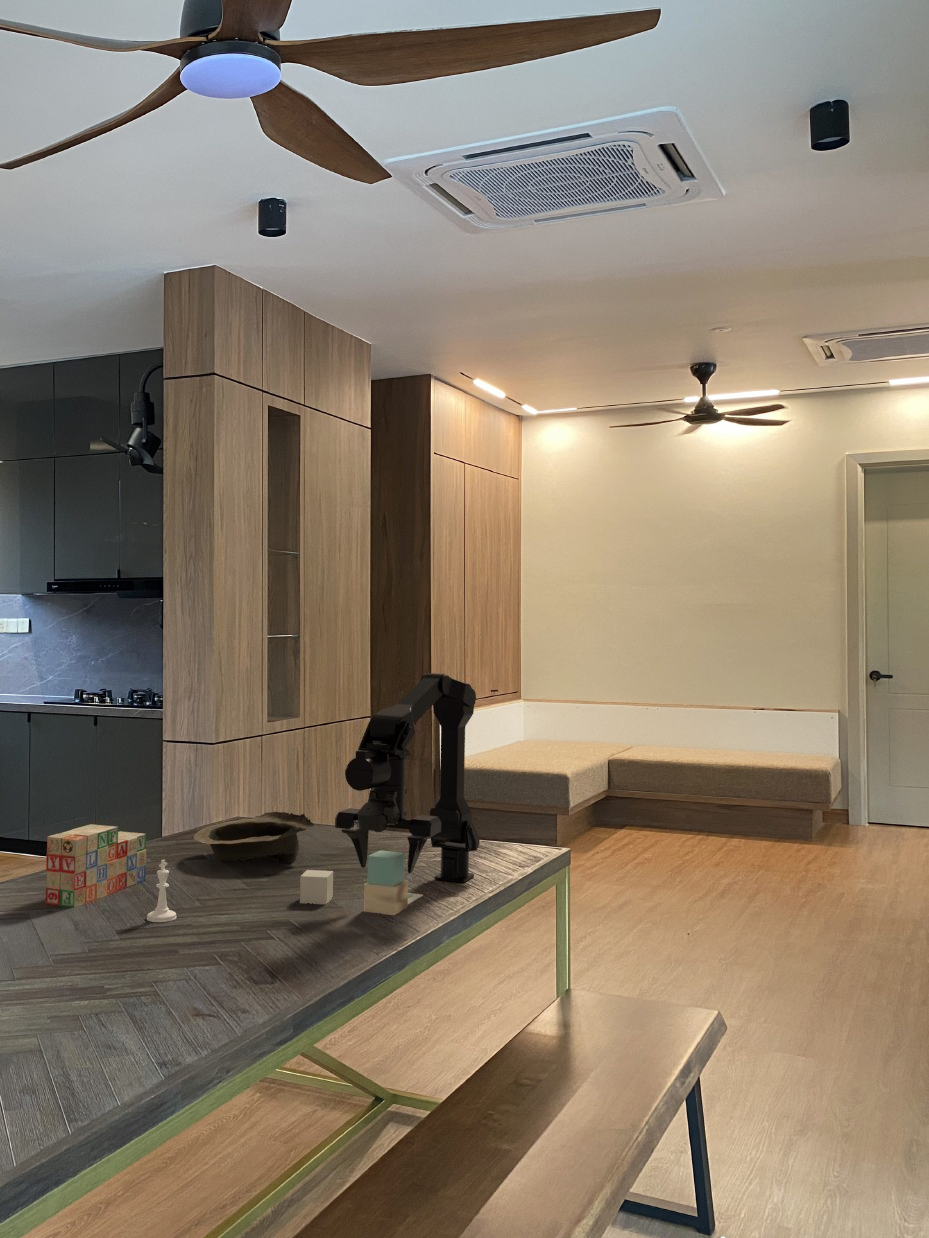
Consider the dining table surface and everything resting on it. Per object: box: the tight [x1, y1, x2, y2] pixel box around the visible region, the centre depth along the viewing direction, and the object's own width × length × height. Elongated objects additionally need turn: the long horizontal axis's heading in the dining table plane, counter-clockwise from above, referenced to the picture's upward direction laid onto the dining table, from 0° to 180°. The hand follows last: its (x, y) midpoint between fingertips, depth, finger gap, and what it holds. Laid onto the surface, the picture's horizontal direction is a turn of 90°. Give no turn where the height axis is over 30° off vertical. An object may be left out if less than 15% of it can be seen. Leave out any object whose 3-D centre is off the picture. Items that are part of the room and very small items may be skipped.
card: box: [408, 892, 424, 905], centre depth 200 cm, size 7×7×1 cm
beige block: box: [299, 869, 334, 905], centre depth 197 cm, size 5×5×5 cm
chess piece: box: [146, 859, 177, 923], centre depth 182 cm, size 5×5×10 cm
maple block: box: [363, 879, 409, 916], centre depth 192 cm, size 6×6×5 cm
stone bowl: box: [193, 811, 315, 864], centre depth 228 cm, size 25×25×9 cm
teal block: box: [366, 849, 406, 887], centre depth 192 cm, size 5×5×5 cm
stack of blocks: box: [45, 823, 147, 908], centre depth 199 cm, size 21×6×12 cm, turn 162°
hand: (386, 869), depth 192 cm, fingers open, 9 cm apart
